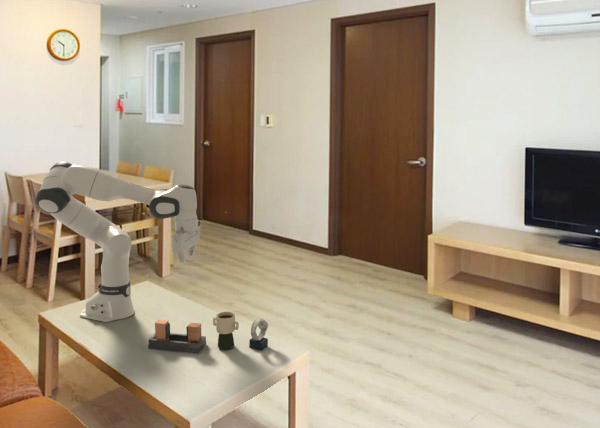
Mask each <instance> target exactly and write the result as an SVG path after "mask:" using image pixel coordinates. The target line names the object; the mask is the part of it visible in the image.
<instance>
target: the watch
mask: <svg viewBox="0 0 600 428" xmlns="http://www.w3.org/2000/svg"><path fill="white" fill-rule="evenodd" d="M268 327H269V323H268V322H267V321H266V320H264V318H256V319H255V320H254V321H253V322H252V324H251V329H250V336H251V338H250V339H249V343H248V344H249V348H251V349H253V348H254V349H253V350H257V349H258V351H264V350H265V349H267V347H268V346H269V345H268V343H269V339H268V338H266V337H265V335H266V332H267V331H268ZM257 328H259V330H260V331H259V334H257ZM264 348H265V349H264Z"/></svg>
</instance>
